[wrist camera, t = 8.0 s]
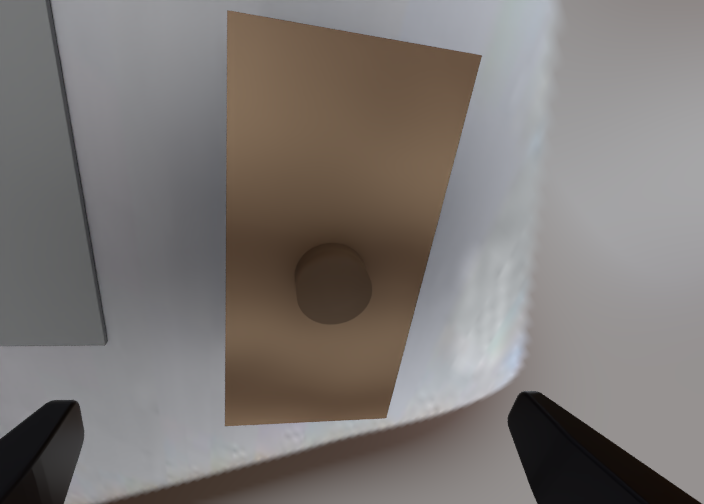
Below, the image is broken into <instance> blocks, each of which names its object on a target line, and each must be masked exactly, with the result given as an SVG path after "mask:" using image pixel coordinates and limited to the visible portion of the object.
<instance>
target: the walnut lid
mask: <svg viewBox="0 0 704 504" xmlns="http://www.w3.org/2000/svg"><path fill="white" fill-rule="evenodd" d="M481 57H482V55H476V54H470V53H465V52H459V51H454V50H448V49H442V48H437V47H431V46H425V45H420V44H414V43H408V42H403V41H397V40H392V39H386V38H380V37H375V36H369V35H363V34H358V33H352V32H346V31H341V30H335V29H330V28H324V27H318V26H313V25H307V24H301V23H296V22H290V21H284V20H279V19H273V18H268V17H262V16H256V15H251V14H245V13H239V12H234V11H228V10H227V171H226V347H225V426H238V425H259V424H279V423H299V422H319V421H340V420H360V419H380V418H386V417H387V413H388V409H389V405H390V401H391V398H392V394H393V390H394V386H395V382H396V379H397V375H398V371H399V367H400V364H401V360H402V356H403V352H404V348H405V345H406V341H407V337H408V333H409V329H410V326H411V322H412V318H413V314H414V311H415V307H416V303H417V299H418V295H419V292H420V288H421V284H422V280H423V276H424V273H425V269H426V265H427V261H428V257H429V254H430V250H431V246H432V242H433V239H434V235H435V231H436V227H437V223H438V220H439V216H440V212H441V208H442V204H443V201H444V197H445V193H446V189H447V186H448V182H449V178H450V174H451V170H452V167H453V163H454V159H455V155H456V151H457V148H458V144H459V140H460V136H461V133H462V129H463V125H464V121H465V117H466V114H467V110H468V106H469V102H470V98H471V95H472V91H473V87H474V83H475V79H476V76H477V72H478V68H479V64H480V61H481Z"/></svg>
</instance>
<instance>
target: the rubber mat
mask: <svg viewBox="0 0 704 504" xmlns="http://www.w3.org/2000/svg"><path fill="white" fill-rule="evenodd" d="M106 343H107V336H106V330H105V324H104V319H103V313H102V307H101V301H100V295H99V289H98V283H97V277H96V271H95V265H94V260H93V254H92V248H91V242H90V236H89V230H88V224H87V218H86V212H85V206H84V201H83V195H82V189H81V183H80V177H79V171H78V165H77V159H76V153H75V148H74V142H73V136H72V130H71V124H70V118H69V112H68V106H67V100H66V94H65V89H64V83H63V77H62V71H61V65H60V59H59V53H58V47H57V41H56V35H55V30H54V24H53V18H52V12H51V6H50V0H0V346H80V345H106Z"/></svg>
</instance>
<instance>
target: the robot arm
mask: <svg viewBox="0 0 704 504" xmlns="http://www.w3.org/2000/svg"><path fill="white" fill-rule="evenodd" d="M508 427H509V429H510V432H511V435H512V438H513V441H514V443H515V446H516V449H517V451H518V454H519V457H520V460H521V463H522V465H523V468H524V470H525V473H526V476H527V479H528V482H529V484H530V487H531V489H532V492H533V495H534V497H535V499H536V501H537V503H538V504H701V503H700V502H699V501H697V500H696V499H694V498H693V497H691V496H690V495H688V494H687V493H685V492H684V491H683V490H681V489H680V488H678V487H677V486H675V485H674V484H673V483H671V482H669V481H668V480H667V479H665V478H664V477H662V476H661V475H659V474H658V473H657V472H655V471H654V470H652V469H651V468H649V467H648V466H646V465H645V464H643V463H642V462H640V461H639V460H638V459H636V458H635V457H633V456H632V455H630V454H629V453H627V452H626V451H625V450H623V449H622V448H620V447H619V446H617V445H616V444H614V443H613V442H611V441H610V440H609V439H607V438H605V437H604V436H603V435H601V434H600V433H598V432H597V431H595V430H594V429H593V428H591V427H590V426H588V425H587V424H585V423H584V422H582V421H581V420H579V419H578V418H576V417H575V416H574V415H572V414H571V413H569V412H568V411H566V410H565V409H563V408H562V407H560V406H559V405H557V404H556V403H555V402H553V401H552V400H550V399H549V398H547V397H546V396H545V395H543V394H542V393H540V392H536V391H524V392H521V393H520V394H519V395H518V396H517V398H516V400H515V402H514V405H513V407H512V409H511V411H510V413H509V415H508ZM83 440H84V427H83V422H82V416H81V411H80V406H79V403H78V402H77V401H75V400H54V401H50V402H48V403H46V404H45V405H43V406H42V407H41V408H40V409H38V410H37V411H36V412H34V413H33V414H32V415H31V416H29V417H28V418H27V419H25V420H24V421H23V422H22V423H20V424H19V425H18V426H16V427H15V428H14V429H13V430H11V431H10V432H9V433H7V434H6V435H5V436H4V437H2V438H1V439H0V504H64V501H65V498H66V495H67V492H68V489H69V486H70V482H71V479H72V476H73V473H74V470H75V467H76V464H77V461H78V458H79V454H80V451H81V448H82V445H83Z"/></svg>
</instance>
